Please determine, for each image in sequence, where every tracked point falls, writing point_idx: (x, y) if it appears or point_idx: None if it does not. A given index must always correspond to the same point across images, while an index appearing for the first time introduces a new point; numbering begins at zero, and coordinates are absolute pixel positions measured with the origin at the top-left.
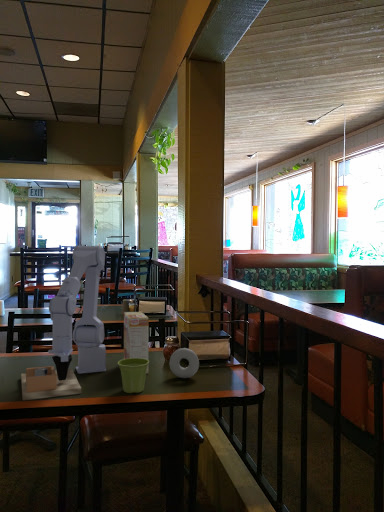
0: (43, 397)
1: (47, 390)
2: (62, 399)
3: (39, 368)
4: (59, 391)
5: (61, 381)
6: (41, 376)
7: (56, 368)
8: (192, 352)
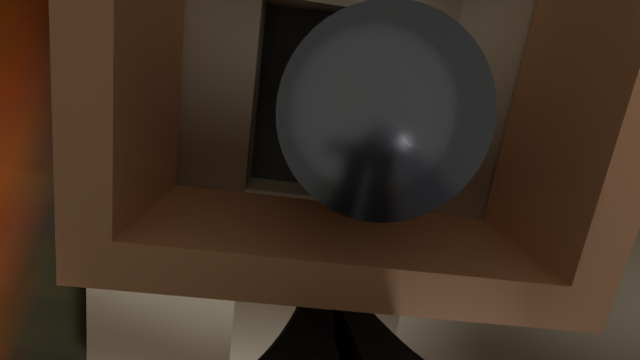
0: None
1: None
2: (10, 216)
3: (479, 103)
4: None
5: None
6: (67, 59)
7: (271, 348)
8: None
